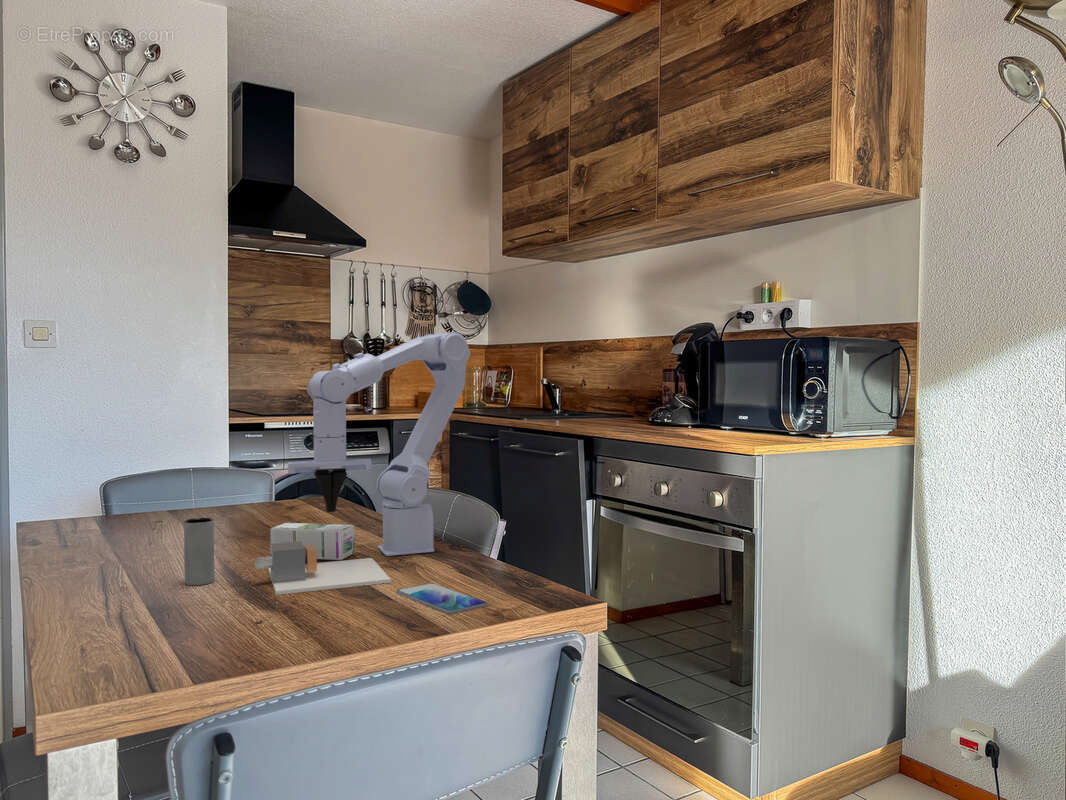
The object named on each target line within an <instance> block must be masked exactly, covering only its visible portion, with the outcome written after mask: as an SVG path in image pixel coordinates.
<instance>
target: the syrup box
mask: <svg viewBox="0 0 1066 800" xmlns="http://www.w3.org/2000/svg"><path fill="white" fill-rule="evenodd" d="M355 533H356V532H355V525H353V524H338V523H337V524H335V523H334V524H333V523H332V524H331V523H309V522H307V523H306V522H305V523H304V522H283V523H281V524H279V525H275V526H273V527H270V534H269V535H270V538H269V542H270V544H274V543H286V542H298V541H301V542H302V544H303V546H304V547H305V546H307V545H314V546H315V548H316V549H317V560H327V561H328V560H329V561H333V560H334V561H343V560H344V559H346V558H348V557H349V556H352V555H353V554H355V548H356V547H355V546H356V543H355V542H356V537H355ZM270 544H269V545H270Z"/></svg>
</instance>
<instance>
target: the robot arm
mask: <svg viewBox="0 0 1066 800" xmlns="http://www.w3.org/2000/svg"><path fill="white" fill-rule="evenodd" d="M471 354H472V353H471V351H470V348H469V345H468V342H467V339H466V338H465V337H464V335H462V334H461V333H459V332H456V331H451V332H448V333H429V334H425V335H424V336H419V337H415V338H413V339H410V340H408V341H406V342H404V343H402V344H399V345H397V346H396V347H393V348H392V349H389V350H388V351H385V352H384V353H381V354H379V355H377V356H375V355H372V353H371V354H370V353H365V354H364V353H363V352H359V353H356V354H354V355H353V357H354V358H352V359H350V360H347V361H346V362H344V363H341V364H340V363H334V364H332V366H331V367H332V368H331V370H321V371H318V372H316V373H314V374H313V375H312V377H311V378H310V380H309V385H307V386H306V389H307V390H306V391H307V393H308V395H309V396H310V398H311V399H312V401H313V403H312V404H313V405H312V406H313V407H312V408H313V409H312V411H313V413H312V414H313V417H312V418H313V460H311V459H310V460H301V461H300V460H298V461H288V462H287V472H288V474H289V475H293V474H294V475H295V474H303V473H305V474H306V473H313V474H314V476H315V479H316V481H317V483H318V485H319V488H320V490H321V493H322V497H323V500H324V504H325V511H326V512H327V513H336V509H337V503H338V500H339V495H340V492H341V490H342V487H343V485H344V483H345V481H346V479H347V476H348V473H347V471H364V470H365V471H371V470H372V459H371V458H347V411H346V409H347V406H346V402H347V401H348V400H347V399H349V398H350V396H351V395H352V394H355V393H356V392H358V391H361V390H363V389H365V388H367V387H370V386H372V385H374V384H377V383H378V382H380V381H381V380H382V377H383V375H384V373H385V372H387V371H389V370H392V369H395V368H398V367H401V366H403V365H405V364H407V363H410V362H413V361H415V360H416V361H422V363H423V364H424V365H425V367H426V368H427V370H428V371H429V372H430V374H431V375H432V377H433V380H434V383H435V385H434V387H433V389H432V391H431V393H430V395H429V398H428V399H427V401H426V403H425V406H424V408H423V409H422V411H421V413H420V415H419V418H418V419H417V421H416V422H415V423H416V424H415V426H414V428H413V430H412V431H411V434H410V436H409V438H408V440H407V442H406V444H405V445H404V448H403V449H402V452H401V453H400V454H398V455H397V456H396V457H395V458H393V459H392V460H391V461H390V463H389V464H388V466H387V468H386V469H385V470H383V471H381V472H380V474H379V475H378V478H377V480H376V483H375V484H376V485H375V487H376V492H377V494H378V495H379V497H381V499H382V544H381V545H380V544H378V545H377V548H378V549H379V551H380V552H381V553H382V554H384V556H386V557H392V556H400V555H401V556H402V555H404V556H405V555H412V554H423V553H426V554H427V553H434V552H435V549H434V514H433V509H432V506H431V505H430V504H429V503H422V502H423V500H424V499H425V498H426V495H427V492H428V483H429V479H430V477H431V475H432V473H431V471H430V468H429V466H428V463H429V461H430V460H431V457H432V455H433V454H434V451H435V449H436V447H437V445H438V443H439V440H440V438H441V436H442V435H443V433H444V430H445V428H446V425H447V424H448V421H449V419H450V417H451V416H452V415H453V414H452V413H453V412H454V409H455V407H456V405H457V403H458V401H459V399H460V396H461V395H462V392H463V391H464V389H465V385H466V374H467V364H468V361H469V359H470V356H471Z"/></svg>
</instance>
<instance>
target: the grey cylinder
mask: <svg viewBox="0 0 1066 800" xmlns="http://www.w3.org/2000/svg"><path fill="white" fill-rule="evenodd" d="M214 521H215V520H214V519H213V518H212V517H193V518H187V519H186V520H184V521H183V547H184V548H183V557H184V565H183V567H184V583H185V585H188V586H203V585H208V584H212V583H214V581H215V526H214V525H215V522H214Z"/></svg>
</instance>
